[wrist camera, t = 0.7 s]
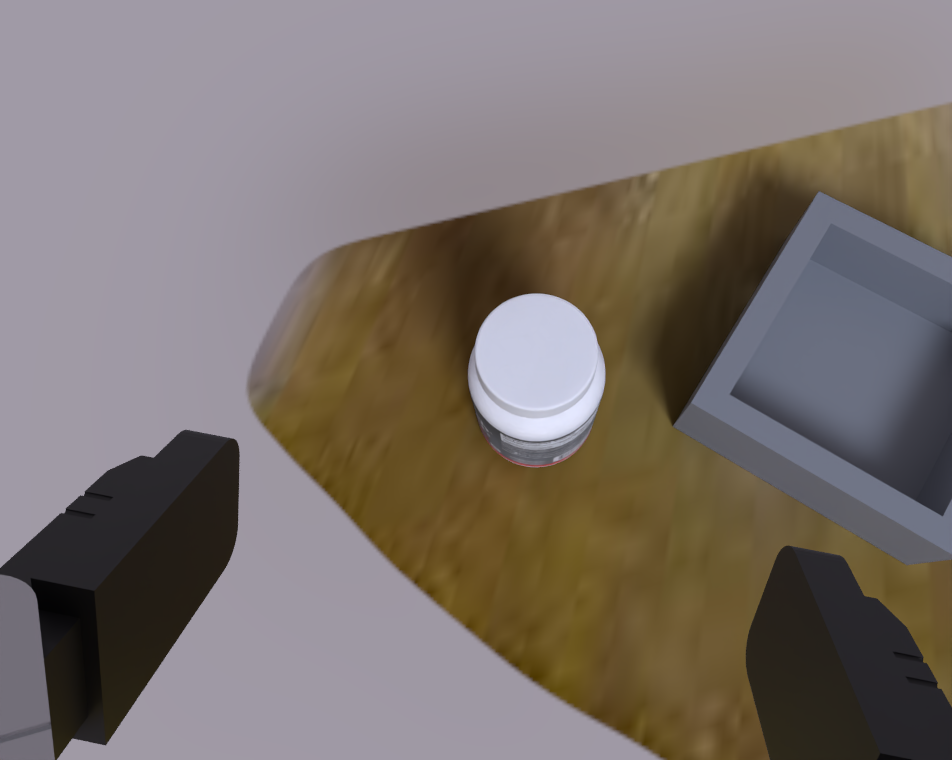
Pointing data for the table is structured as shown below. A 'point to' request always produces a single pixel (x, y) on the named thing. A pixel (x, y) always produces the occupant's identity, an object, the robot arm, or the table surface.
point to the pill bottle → (536, 379)
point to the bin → (843, 381)
